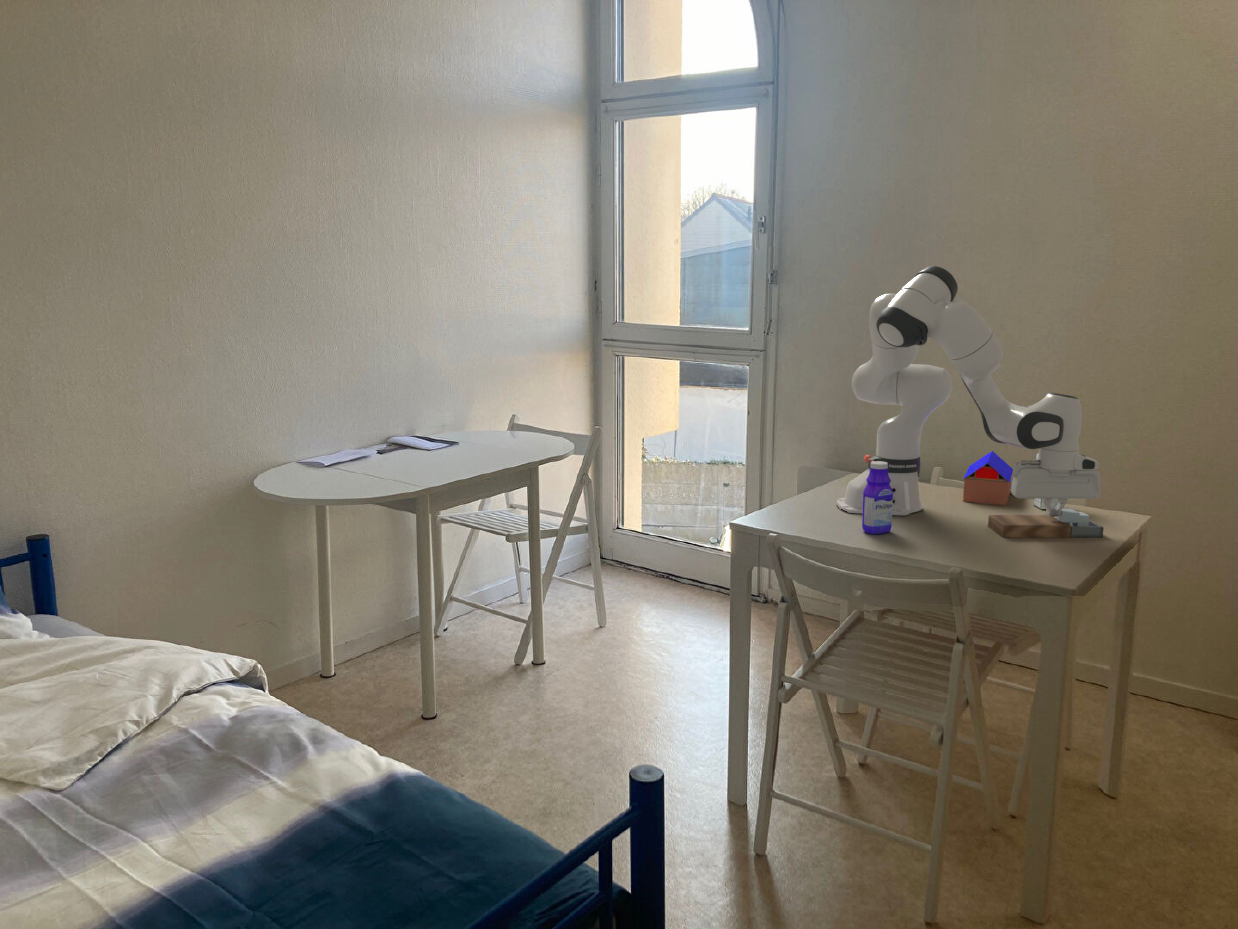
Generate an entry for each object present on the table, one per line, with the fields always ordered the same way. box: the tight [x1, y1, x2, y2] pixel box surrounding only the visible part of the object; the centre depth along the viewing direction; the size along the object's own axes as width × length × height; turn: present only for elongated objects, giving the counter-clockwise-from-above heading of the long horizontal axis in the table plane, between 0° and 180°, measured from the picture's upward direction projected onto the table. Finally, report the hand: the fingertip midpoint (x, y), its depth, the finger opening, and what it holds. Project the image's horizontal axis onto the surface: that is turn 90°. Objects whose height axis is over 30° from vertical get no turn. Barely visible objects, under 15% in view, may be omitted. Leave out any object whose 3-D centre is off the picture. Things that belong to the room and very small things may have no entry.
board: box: [987, 514, 1071, 538], centre depth 232 cm, size 16×10×3 cm, turn 89°
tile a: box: [1070, 511, 1090, 526], centre depth 232 cm, size 4×4×2 cm
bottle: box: [861, 461, 893, 535], centre depth 232 cm, size 7×6×17 cm
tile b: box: [1055, 507, 1080, 523], centre depth 231 cm, size 4×4×2 cm
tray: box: [1066, 519, 1105, 538], centre depth 232 cm, size 8×10×2 cm
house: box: [962, 450, 1013, 506], centre depth 269 cm, size 12×20×12 cm, turn 155°
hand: (1053, 515), depth 231 cm, fingers closed
